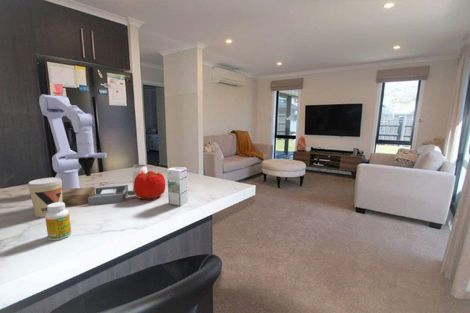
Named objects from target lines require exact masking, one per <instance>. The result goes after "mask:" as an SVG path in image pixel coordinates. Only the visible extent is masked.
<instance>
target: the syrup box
mask: <svg viewBox="0 0 470 313" xmlns="http://www.w3.org/2000/svg"><path fill="white" fill-rule="evenodd" d="M187 170H188V168H187V167H184V166H183V167H181V166H173V167H169V168H168V169H166V173H167V174H166V177H167V190H168V191H167V194H168V196H167V197H168V205H171V206H177V207H182V206H184V205H185V204H186V203H188V202H189V199H188V198H189V196H188V172H187ZM187 201H188V202H187ZM184 203H185V204H184Z"/></svg>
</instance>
